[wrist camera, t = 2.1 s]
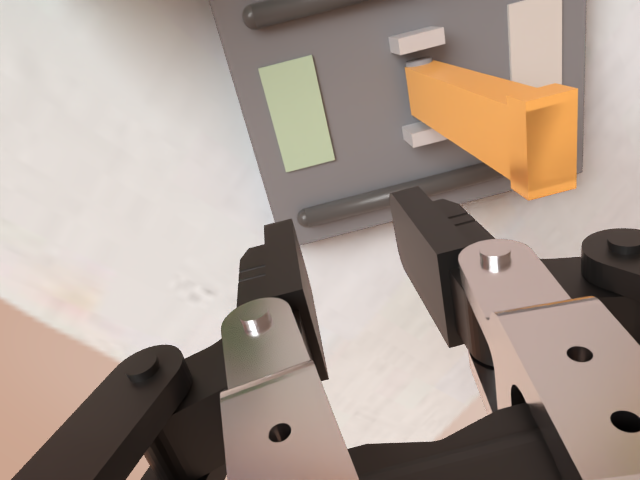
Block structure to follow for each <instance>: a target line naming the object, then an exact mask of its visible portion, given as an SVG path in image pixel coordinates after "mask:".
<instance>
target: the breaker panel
mask: <svg viewBox="0 0 640 480" xmlns="http://www.w3.org/2000/svg"><path fill="white" fill-rule="evenodd" d="M209 2H210V5H211V9H212V12H213V16H214V19H215V22H216V26H217V29H218V32H219V36H220V39H221V42H222V46H223V49H224V53H225V56H226V59H227V63H228V66H229V69H230V73H231V76H232V79H233V83H234V86H235V90H236V93H237V96H238V100H239V103H240V106H241V110H242V113H243V116H244V120H245V123H246V126H247V130H248V133H249V137H250V140H251V143H252V147H253V150H254V153H255V157H256V160H257V163H258V167H259V170H260V174H261V177H262V180H263V184H264V187H265V190H266V194H267V197H268V200H269V204H270V207H271V211H272V214H273V217H274V221H275V223H276V222H280V221H283V220H287V219H291V218H292V221H293V224H294V228H295V231H296V235H297V238H298V242H299V245H303V244H307V243H311V242H315V241H318V240H322V239H326V238H330V237H334V236H338V235H342V234H345V233H349V232H353V231H357V230H361V229H365V228H369V227H373V226H376V225H380V224H384V223H388V222H392V221H393V219H392V213H391V207H390V200H389V195H390V193H392V192H396V191H400V190H404V189H408V188H412V187H415V186H419V187H420V188H421V189H422V190H423V192H424V193H425V194H426V195H427V196H428V197H429V198H430V199H431V200H432V201H435V200H439V199H446V200H449V201H452V202H455V203H458V204H461V203H465V202H469V201H473V200H477V199H481V198H485V197H488V196H492V195H496V194H500V193H504V192H508V191H512V190H513V189H511V180H509V179H508V178H506V177H505V176H503V175H502V174H500V173H499V172H497V171H496V170H494V169H493V168H491V167H490V166H488V165H487V164H485V163H484V162H482V161H481V160H479V159H478V158H476V157H475V156H473V155H471V154H470V153H468V152H467V151H465V150H464V149H462V148H461V147H459V146H458V145H456V144H455V143H453V142H452V141H450V140H449V139H447V138H446V137H444V136H443V135H441V134H440V133H438V132H437V131H435V130H434V129H432V128H431V127H429V126H428V125H426V124H425V123H423V122H422V121H420V120H419V119H416V118H413V115H411V109H410V102H409V94H408V87H407V80H406V73H405V67H406V62H407V61H409V60H412V59H416V58H420V57H428V56H430V57H432V60H435V61H439V62H443V63H446V64H450V65H454V66H458V67H461V68H465V69H469V70H473V71H476V72H480V73H484V74H488V75H491V76H495V77H499V78H503V79H506V80H510V81H514V82H518V83H521V84H525V85H529V86H532V87H536V88H538V87H542V86H546V85H550V84H553V83H557V84H561V85H566V86H570V87H574V88H578V118H577V173H581V172H582V163H583V119H584V76H585V32H586V0H209Z"/></svg>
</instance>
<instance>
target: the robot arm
mask: <svg viewBox="0 0 640 480" xmlns="http://www.w3.org/2000/svg"><path fill="white" fill-rule="evenodd" d="M389 200H390V207H391V213H392V219H393V224H394V230H395V236H396V242H397V247H398V252H399V256H400V259H401V262H402V265H403V267H404V270H405V272H406V273H407V275H408V277H409V278H410V280H411V282H412V284H413V285H414V287H415V289H416V291H417V292H418V294H419V296H420V298H421V299H422V301H423V303H424V305H425V306H426V308H427V310H428V312H429V313H430V315H431V317H432V319H433V320H434V322H435V324H436V326H437V327H438V329H439V331H440V333H441V334H442V336H443V338H444V340H445V341H446V343H447V345H448V347H449V348H451V347H455V346H459V345H462V344H465V345H466V347H467V349H468V354H469V363H470V369H471V372H472V374H473V377H474V380H475V382H476V385H477V388H478V390H479V393H480V396H481V398H482V401H483V404H484V406H485V409H486V412H487V414H488V415H487V416H485V417H484V418H482V419H480V420H478V421H476V422H474V423H472V424H470V425H469V426H467V427H465V428H463V429H461V430H459V431H457V432H456V433H454V434H452V435H450V436H448V437H446V438H444V439H442V440H439V441H433V442H409V443H381V444H365V445H361V446H357V447H353V448H350V449H347V447H346V444H345V442H344V439H343V437H342V434H341V432H340V429H339V426H338V424H337V421H336V419H335V416H334V413H333V411H332V408H331V406H330V403H329V401H328V398H327V395H326V393H325V390H324V388H323V385H322V382H321V381H323V380H327V379H329V378H328V373H327V367H326V362H325V357H324V352H323V347H322V342H321V336H320V331H319V326H318V321H317V316H316V311H315V306H314V300H313V295H312V290H311V286H310V282H309V278H308V274H307V271H306V267H305V263H304V260H303V256H302V253H301V249H300V245H299V242H298V238H297V235H296V231H295V228H294V224H293V221H292V218H291V219H287V220H283V221H280V222H276V223H272V224H268V225H264V238H265V244H264V245H260V246H256V247H253V248H249V249H248V250H247V252H246V253H245V254H244V256H243V257H242V258H241V260H240V268H239V272H240V273H239V283H238V296H237V308H236V309H234V310H233V311H232V312H231V313H230V314H229V315H228V316H227V317H226V318H225V319H224V321H223V323H222V326H221V335H222V339H220V340H219V341H218V342H216V343H215V344H213V345H212V346H210V347H208V348H206V349H204V350H202V351H200V352H198V353H196V354H194V355H192V356H190V357H187V358H185V359H184V357H183V355H182V353H181V351H180V350H179V349H178V348H177V347H175V346H172V345H157V346H152V347H149V348H146V349H143V350H141V351H139V352H137V353H135V354H133V355H131V356H130V357H128V358H127V359H125V360H124V361H123V362H121V363H120V364H119V365H118V366H117V367H116V368H115V369H114V370H113V371H112V372H111V373H110V374H109V375H108V376H107V377H106V379H105V380H104V381H103V382H102V383H101V384H100V385H99V386H98V387H97V388H96V389H95V390H94V391H93V392H92V394H91V395H90V396H89V397H88V398H87V399H86V400H85V401H84V402H83V403H82V404H81V405H80V407H79V408H78V409H77V410H76V411H75V412H74V413H73V414H72V415H71V416H70V417H69V418H68V419H67V420H66V422H64V424H63V425H62V426H61V427H60V428H59V429H58V430H57V431H56V432H55V433H54V434H53V435H52V436H51V438H50V439H49V440H48V441H47V442H46V443H45V444H44V445H43V446H42V447H41V448H40V449H39V451H37V452H36V454H35V455H34V456H33V457H32V458H31V459H30V460H29V461H28V462H27V463H26V464H25V465H24V466H23V468H22V469H21V470H20V471H19V472H18V473H17V474H16V475H15V476H14V477H13V478H12V479H11V480H126V478H127V477H128V476H129V474H130V473H131V471H132V470H133V469H134V467H135V466H136V464H137V463H138V462H139V460H140V459H141V457H142V456H143V455H145V458H146V459H147V461H148V463H149V465H150V467H149V468H148V470H147V471H146V472H145V474H144V475H143V477H142V478H141V480H224V479H225V477H226V475H227V480H640V230H638V229H626V228H621V229H608V230H603V231H599V232H596V233H593V234H591V235H590V236H588V237H587V238H585V239H584V241H583V242H582V250H581V257H572V258H558V259H539V258H538V256H537V255H536V254H535V253H534V251H533V250H532V249H531V248H530V247H529V246H527V245H526V244H523V243H521V242H518V241H514V240H508V239H495V238H494V237H493V236H492V235H491V234H490V233H489V232H488V231H486V230H485V229H484V228H483V227H482V226H481V225H480V224H479V223H478V222H477V221H475V219H474V218H473V217H472V216H471V215H470V214H468V213H467V212H466V211H465V210H464V209H463V208H462V207H461V206H460V205H459V204H458V203H455V202H452V201H449V200H446V199H439V200H435V201H432V200H431V199H430V198H429V197H428V196H427V195H426V194H425V193H424V192H423V190H422V189H421V188H420V187H419V186H415V187H412V188H408V189H404V190H400V191H396V192H392V193H390V195H389Z"/></svg>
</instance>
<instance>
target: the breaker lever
mask: <svg viewBox="0 0 640 480" xmlns="http://www.w3.org/2000/svg"><path fill="white" fill-rule="evenodd" d="M405 73H406V80H407V87H408V94H409V102H410V109H411V115H413V118H416V119H419V120H420V121H422V122H423V123H425V124H426V125H428V126H429V127H431V128H432V129H434V130H435V131H437V132H438V133H440V134H441V135H443V136H444V137H446V138H447V139H449V140H450V141H452V142H453V143H455V144H456V145H458V146H459V147H461V148H462V149H464V150H465V151H467V152H468V153H470V154H471V155H473V156H475V157H476V158H478V159H479V160H481V161H482V162H484V163H485V164H487V165H488V166H490V167H491V168H493V169H494V170H496V171H497V172H499V173H500V174H502V175H503V176H505V177H506V178H508V179H509V180H511V189H513V190H514V191H515V192H517V193H518V194H520V195H521V196H523V197H524V198H526V199H527V200H528V201H529V200H533V199H537V198H540V197H544V196H548V195H552V194H556V193H560V192H564V191H567V190H571V189H575V188H576V176H577V118H578V88H574V87H570V86H566V85H561V84H557V83H553V84H550V85H546V86H542V87H538V88H536V87H532V86H529V85H525V84H521V83H518V82H514V81H510V80H506V79H503V78H499V77H495V76H491V75H488V74H484V73H480V72H476V71H473V70H469V69H465V68H461V67H458V66H454V65H450V64H446V63H443V62H439V61H435V60H432V57H430V56H428V57H420V58H416V59H412V60H409V61H407V62H406V67H405Z"/></svg>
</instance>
